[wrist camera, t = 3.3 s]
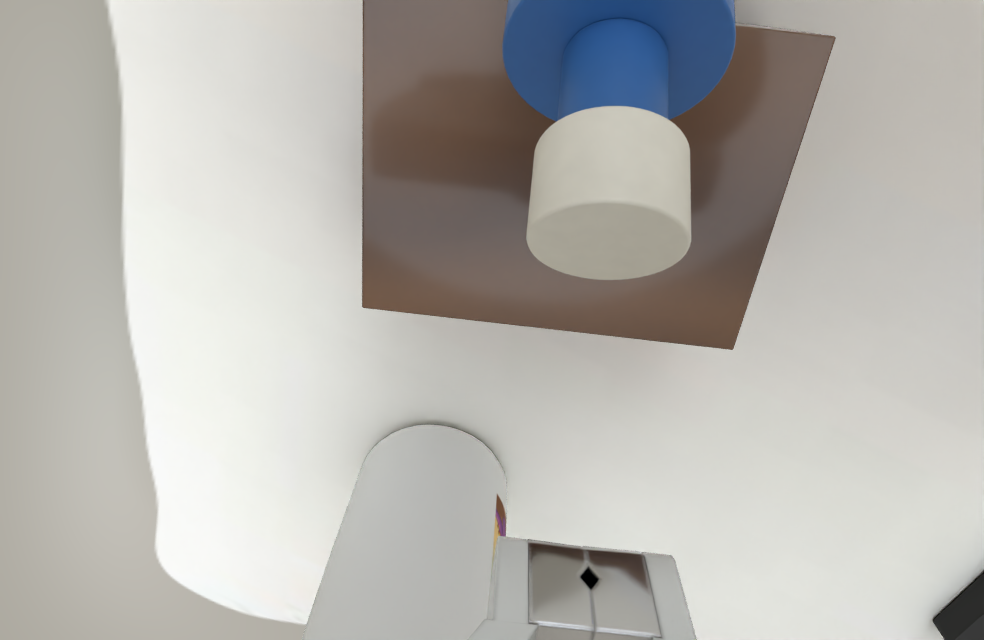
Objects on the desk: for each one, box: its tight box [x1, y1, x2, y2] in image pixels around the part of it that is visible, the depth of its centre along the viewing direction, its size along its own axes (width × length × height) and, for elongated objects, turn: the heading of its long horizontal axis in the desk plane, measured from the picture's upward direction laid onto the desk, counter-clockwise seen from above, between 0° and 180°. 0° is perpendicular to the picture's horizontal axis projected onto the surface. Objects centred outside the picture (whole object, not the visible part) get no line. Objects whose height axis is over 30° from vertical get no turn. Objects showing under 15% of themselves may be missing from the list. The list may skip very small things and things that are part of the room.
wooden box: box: [362, 0, 835, 350], centre depth 22 cm, size 10×13×6 cm
